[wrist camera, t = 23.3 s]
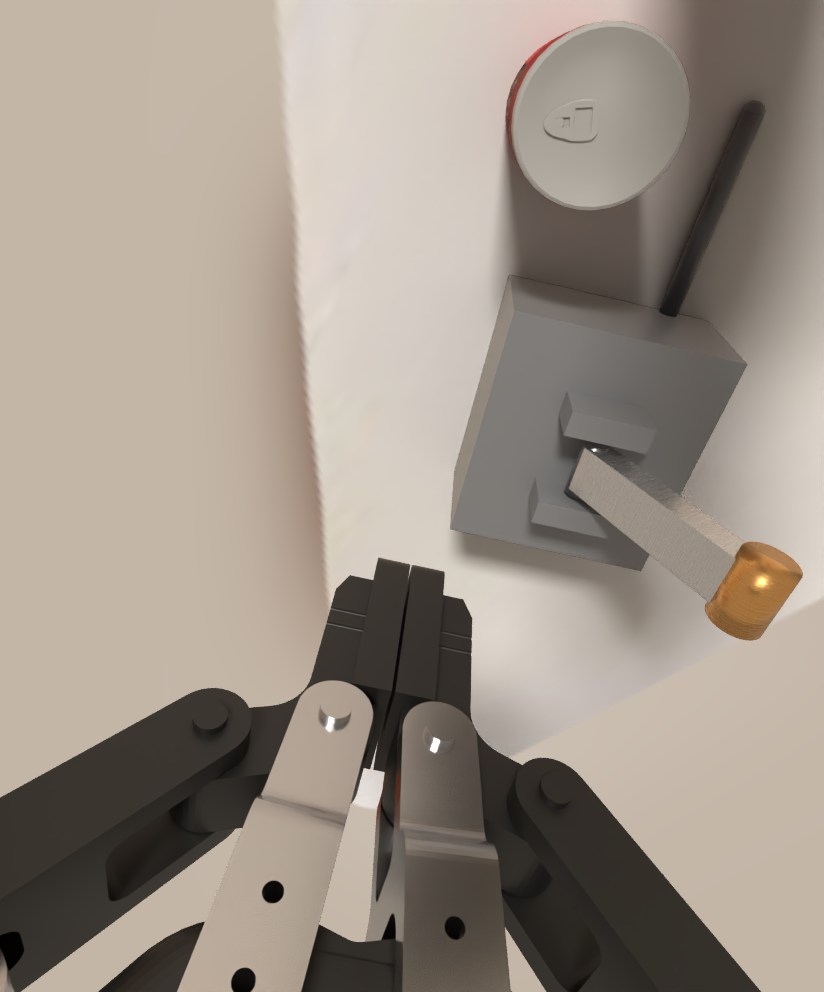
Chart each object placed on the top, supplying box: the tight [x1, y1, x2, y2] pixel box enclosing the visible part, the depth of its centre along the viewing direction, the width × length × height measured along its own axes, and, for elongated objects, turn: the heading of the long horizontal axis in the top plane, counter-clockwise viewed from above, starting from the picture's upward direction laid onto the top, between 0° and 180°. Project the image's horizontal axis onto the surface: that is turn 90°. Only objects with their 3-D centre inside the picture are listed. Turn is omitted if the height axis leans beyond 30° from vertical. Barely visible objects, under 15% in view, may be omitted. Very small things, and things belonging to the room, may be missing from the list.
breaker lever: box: [565, 440, 803, 640], centre depth 37 cm, size 4×3×14 cm
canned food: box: [506, 21, 690, 210], centre depth 35 cm, size 8×8×11 cm
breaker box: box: [450, 101, 765, 571], centre depth 41 cm, size 29×14×11 cm, turn 168°
